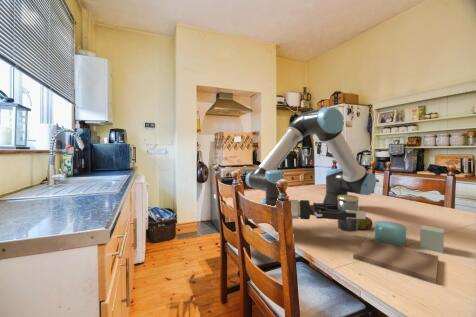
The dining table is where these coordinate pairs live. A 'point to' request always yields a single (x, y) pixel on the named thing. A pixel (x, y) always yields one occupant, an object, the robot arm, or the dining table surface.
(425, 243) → the sage box
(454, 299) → the dining table surface
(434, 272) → the walnut board
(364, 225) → the potato
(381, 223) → the teal domed cylinder
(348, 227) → the tea tin
